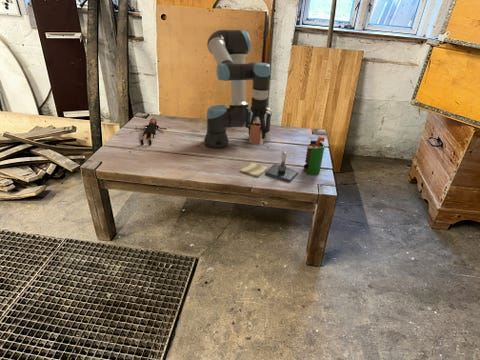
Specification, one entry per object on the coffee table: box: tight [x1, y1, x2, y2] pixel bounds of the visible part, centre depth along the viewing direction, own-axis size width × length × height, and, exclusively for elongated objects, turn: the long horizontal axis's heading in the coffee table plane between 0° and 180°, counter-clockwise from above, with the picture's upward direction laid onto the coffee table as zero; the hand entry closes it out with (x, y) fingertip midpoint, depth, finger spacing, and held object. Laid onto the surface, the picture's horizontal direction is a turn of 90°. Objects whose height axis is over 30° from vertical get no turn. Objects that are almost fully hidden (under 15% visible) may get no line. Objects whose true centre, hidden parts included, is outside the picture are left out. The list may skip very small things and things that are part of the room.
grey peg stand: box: [264, 151, 299, 183], centre depth 167 cm, size 14×11×12 cm
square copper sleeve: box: [249, 121, 262, 145], centre depth 161 cm, size 5×5×9 cm
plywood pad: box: [239, 161, 269, 178], centre depth 172 cm, size 11×11×1 cm
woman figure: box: [134, 117, 167, 146], centre depth 205 cm, size 20×6×35 cm
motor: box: [302, 135, 326, 176], centre depth 170 cm, size 10×9×20 cm
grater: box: [255, 106, 272, 143], centre depth 204 cm, size 10×10×20 cm
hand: (256, 142), depth 164 cm, fingers closed on square copper sleeve, 5 cm apart
